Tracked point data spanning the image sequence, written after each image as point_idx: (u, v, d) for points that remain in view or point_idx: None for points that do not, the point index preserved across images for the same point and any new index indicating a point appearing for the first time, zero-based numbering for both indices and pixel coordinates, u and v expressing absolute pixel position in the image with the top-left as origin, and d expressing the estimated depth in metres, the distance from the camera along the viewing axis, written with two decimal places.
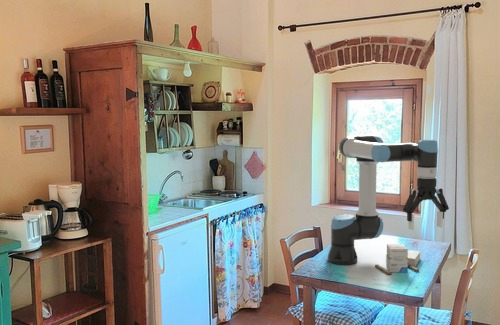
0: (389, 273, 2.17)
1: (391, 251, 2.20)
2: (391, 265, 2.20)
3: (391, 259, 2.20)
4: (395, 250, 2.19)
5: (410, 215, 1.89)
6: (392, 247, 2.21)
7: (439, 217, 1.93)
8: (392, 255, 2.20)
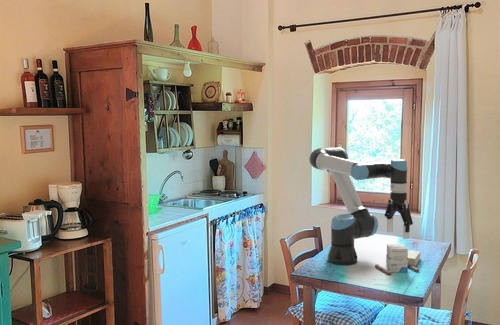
0: (389, 273, 2.17)
1: (391, 251, 2.20)
2: (391, 265, 2.20)
3: (391, 259, 2.20)
4: (395, 250, 2.19)
5: None
6: (392, 247, 2.21)
7: None
8: (392, 255, 2.20)
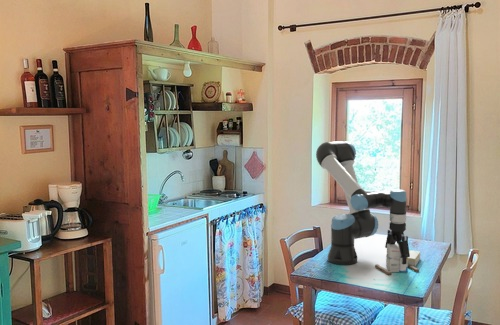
0: (389, 273, 2.17)
1: (391, 251, 2.20)
2: (391, 265, 2.20)
3: (391, 259, 2.20)
4: (395, 250, 2.19)
5: None
6: (392, 247, 2.21)
7: None
8: (392, 255, 2.20)
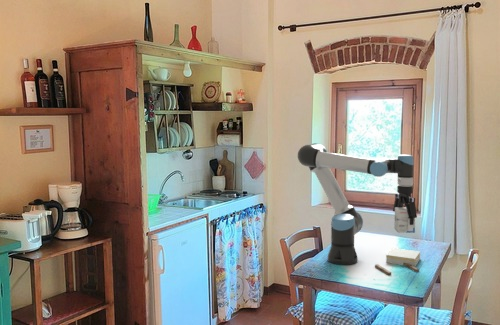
0: (389, 273, 2.17)
1: (399, 212, 2.31)
2: (399, 226, 2.31)
3: (399, 220, 2.31)
4: (403, 211, 2.31)
5: None
6: (400, 209, 2.33)
7: None
8: (400, 216, 2.31)
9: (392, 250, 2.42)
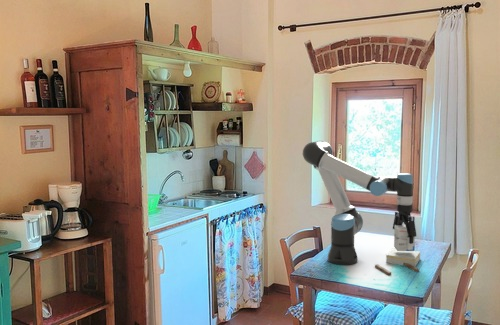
0: (389, 273, 2.17)
1: (399, 231, 2.32)
2: (399, 244, 2.32)
3: (398, 239, 2.32)
4: (402, 230, 2.32)
5: None
6: (400, 227, 2.34)
7: None
8: (400, 235, 2.32)
9: (392, 250, 2.42)
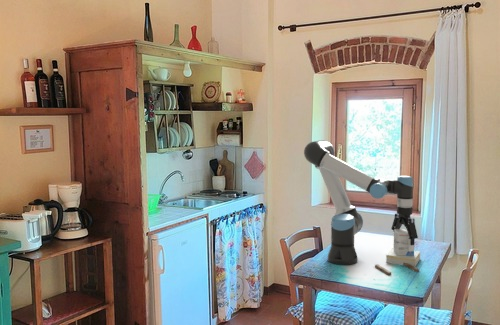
0: (389, 273, 2.17)
1: (398, 235, 2.32)
2: (398, 249, 2.33)
3: (398, 243, 2.33)
4: (402, 234, 2.32)
5: None
6: (399, 232, 2.34)
7: None
8: (399, 239, 2.32)
9: (392, 250, 2.42)
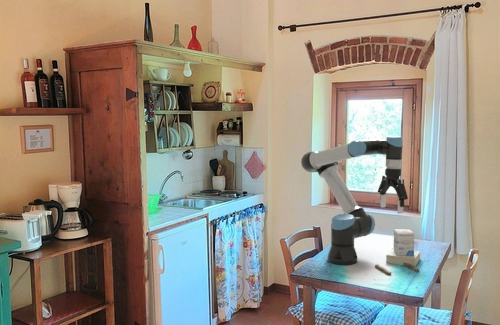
0: (389, 273, 2.17)
1: (398, 235, 2.32)
2: (398, 249, 2.33)
3: (398, 243, 2.33)
4: (402, 234, 2.32)
5: (381, 195, 2.35)
6: (399, 232, 2.34)
7: None
8: (399, 239, 2.32)
9: (392, 250, 2.42)
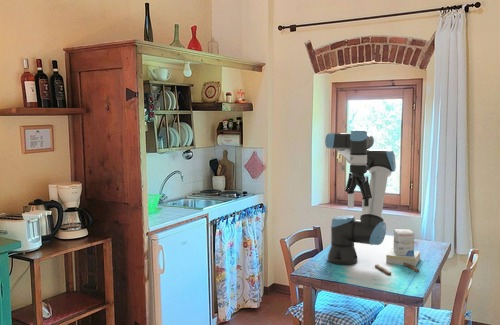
0: (389, 273, 2.17)
1: (398, 235, 2.32)
2: (398, 249, 2.33)
3: (398, 243, 2.33)
4: (402, 234, 2.32)
5: None
6: (399, 232, 2.34)
7: None
8: (399, 239, 2.32)
9: (392, 250, 2.42)
